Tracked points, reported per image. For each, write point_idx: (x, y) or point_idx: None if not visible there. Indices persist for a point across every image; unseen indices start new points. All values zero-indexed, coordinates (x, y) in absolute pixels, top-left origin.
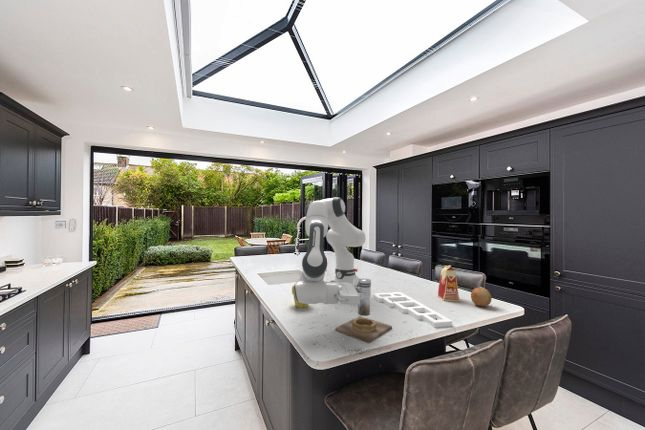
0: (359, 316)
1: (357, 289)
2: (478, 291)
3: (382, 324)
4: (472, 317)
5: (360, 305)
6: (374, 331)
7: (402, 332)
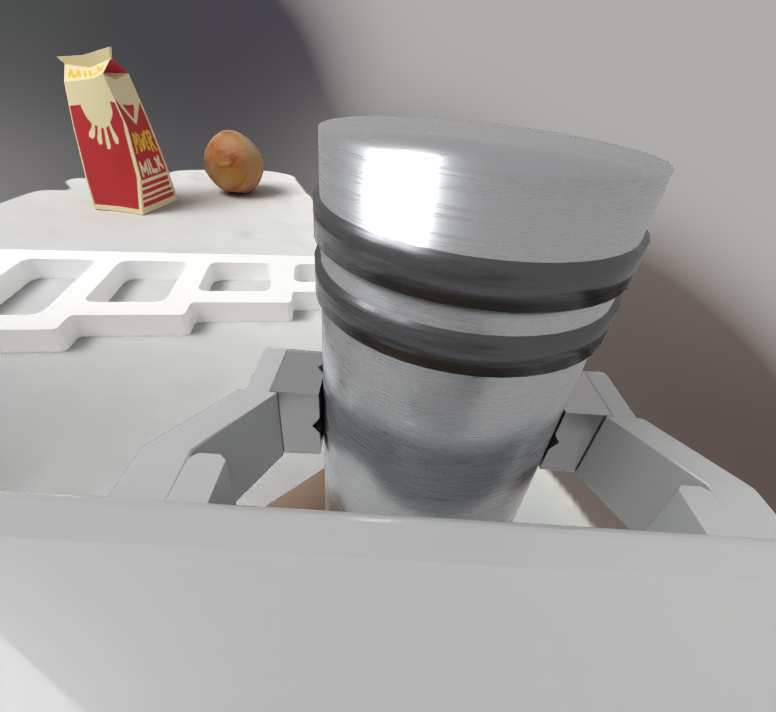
0: None
1: (223, 457)
2: (238, 145)
3: None
4: (312, 227)
5: None
6: None
7: None
